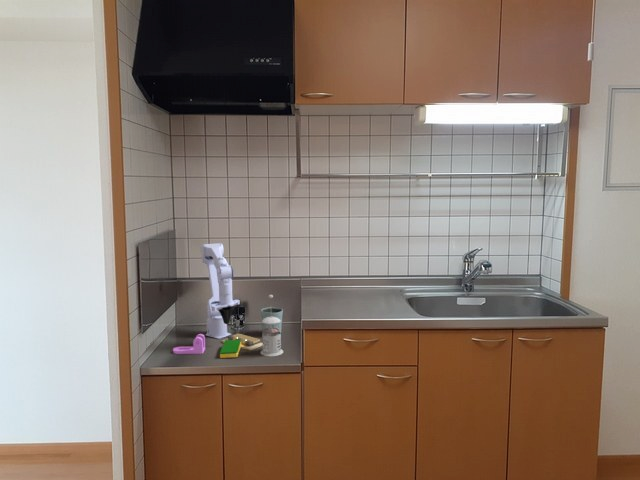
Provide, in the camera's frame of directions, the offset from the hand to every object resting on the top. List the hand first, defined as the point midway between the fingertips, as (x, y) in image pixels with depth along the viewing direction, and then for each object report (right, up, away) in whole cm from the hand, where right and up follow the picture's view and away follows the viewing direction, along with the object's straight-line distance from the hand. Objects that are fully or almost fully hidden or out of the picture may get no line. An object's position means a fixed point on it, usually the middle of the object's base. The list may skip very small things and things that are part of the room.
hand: (226, 323), depth 216 cm
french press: (+20, -11, -7) cm, 24 cm away
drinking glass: (+19, -8, +16) cm, 26 cm away
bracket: (-15, -11, -6) cm, 20 cm away
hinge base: (+7, -10, +3) cm, 12 cm away
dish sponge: (+3, -11, -7) cm, 14 cm away
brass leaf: (+7, -9, +4) cm, 12 cm away
